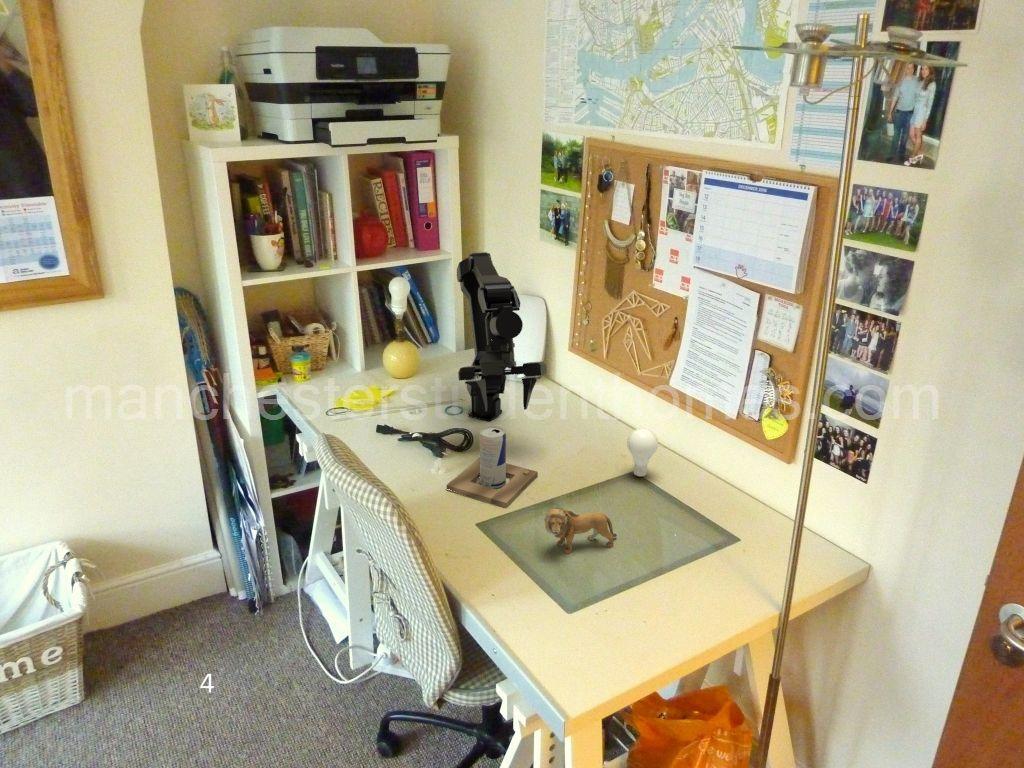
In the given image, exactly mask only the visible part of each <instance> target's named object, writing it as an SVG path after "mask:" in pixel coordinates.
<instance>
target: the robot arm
mask: <svg viewBox="0 0 1024 768" xmlns="http://www.w3.org/2000/svg"><path fill="white" fill-rule="evenodd" d="M456 279H457V282H458V283H459V286H460V291H461V292H462V294H463V295H464V296H465V297H466V299H467V301H468V306H469V314H470V315H469V316H470V324H471V325H470V326H471V332H472V342H473V350H474V359H473V361H472V363H471V365H469V366H468V365H467V366H462V367H460V368H459V370H458V372H457V373H458V375H457V376H458V381H464V384H465V385H466V391H467V393H468V394H469V397H470V399H471V402H470V403H471V406H470V407H471V411H470V412H468V414H467V415H469V416H468V417H470V416H472V418H474V417H476V419H478V418H480V419H479V420H483V421H487V422H492V421H493V420H494V419H495V418H497V417H498V416H500V414H502V413H503V410H502V407H501V406H502V405H501V404H502V403H501V401H502V400H501V397H500V394H504V392H505V388H506V380H507V376H511V375H524V377H523V378H521V381H522V386H523V387H522V388H523V389H522V390H523V392H522V396H523V397H522V404H523V410H525V411H526V410H527V409H528V406H529V403H530V399H531V396H532V393H533V391H534V387H535V386H536V382H537V381H538V380H540V379H542V376H544V375H547V374H548V370H547V368H548V367H547V364H546V363H545V362H544V361H532V362H524V363H523V364H522V365H518V366H517V361H516V360H515V347H516V344H515V342H514V338H517V337H518V336H519V335H520V334H521V332H522V330H523V328H524V327H523V325H524V323H523V321H522V318H521V317H520V315H519V314H518V313H517V312H518V311H520V308H521V301H520V297H519V295H518V293H517V290H516V289H515V286H514V285H512V283H511V281H510V280H509V279H508V278H507V277H504V276H500V275H499V273H498V271H497V270H496V267H495V265H494V263H493V260H492V256H491V253H489V252H486V251H483V252H471V253H469V254H468V255H467V257H466V258H464V259H463V260H461V261H460V262H458V265H457V268H456Z"/></svg>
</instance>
